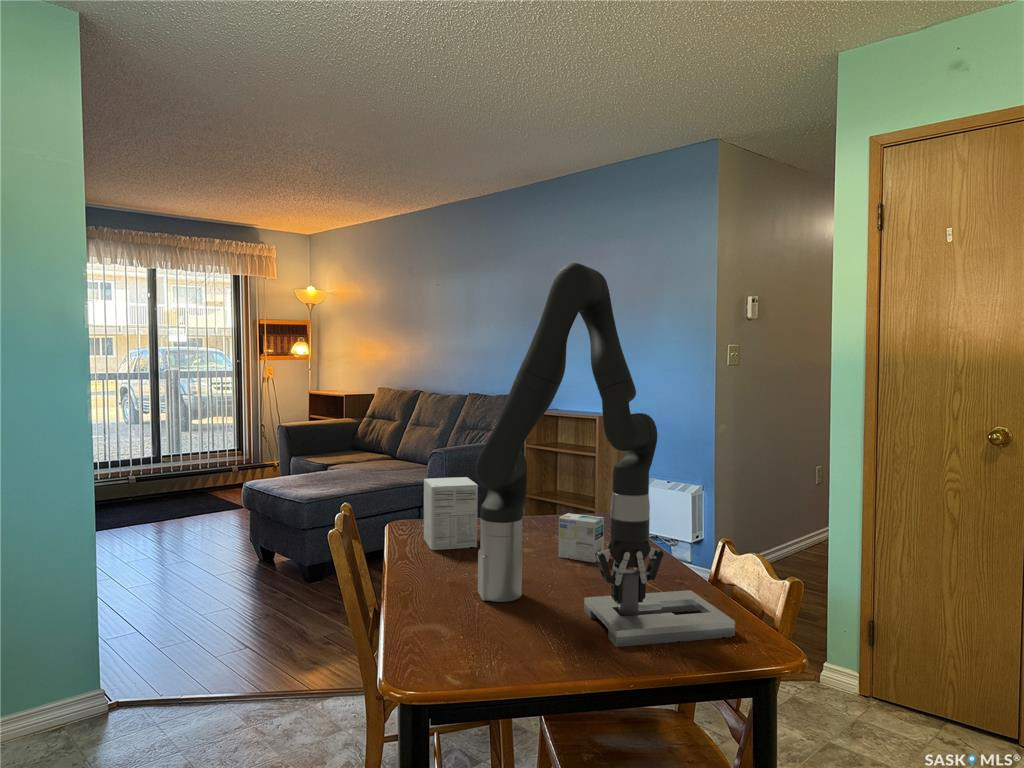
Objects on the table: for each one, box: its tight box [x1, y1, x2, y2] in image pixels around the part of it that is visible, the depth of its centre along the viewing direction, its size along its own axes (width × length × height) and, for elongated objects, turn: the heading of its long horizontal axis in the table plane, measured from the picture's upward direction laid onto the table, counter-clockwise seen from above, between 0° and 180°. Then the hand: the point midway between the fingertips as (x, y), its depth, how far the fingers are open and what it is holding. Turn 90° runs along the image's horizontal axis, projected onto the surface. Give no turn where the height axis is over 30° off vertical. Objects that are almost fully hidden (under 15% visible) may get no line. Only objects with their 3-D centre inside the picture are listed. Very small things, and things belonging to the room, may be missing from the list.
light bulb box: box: [557, 512, 605, 564], centre depth 186 cm, size 11×7×11 cm, turn 63°
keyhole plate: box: [583, 589, 736, 648], centre depth 140 cm, size 24×18×3 cm
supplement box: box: [423, 476, 479, 551], centre depth 198 cm, size 13×13×18 cm
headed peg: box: [618, 569, 639, 616], centre depth 139 cm, size 6×6×10 cm
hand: (628, 601), depth 139 cm, fingers closed on headed peg, 4 cm apart
